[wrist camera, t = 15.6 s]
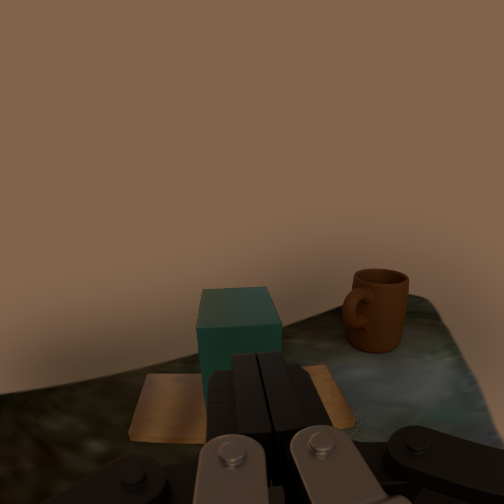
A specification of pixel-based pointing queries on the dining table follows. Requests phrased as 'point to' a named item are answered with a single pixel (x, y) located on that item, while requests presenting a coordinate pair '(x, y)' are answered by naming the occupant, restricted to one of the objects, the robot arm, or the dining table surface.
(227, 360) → the carton
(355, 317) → the mug
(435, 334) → the dining table surface
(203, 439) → the cork mat
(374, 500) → the robot arm
